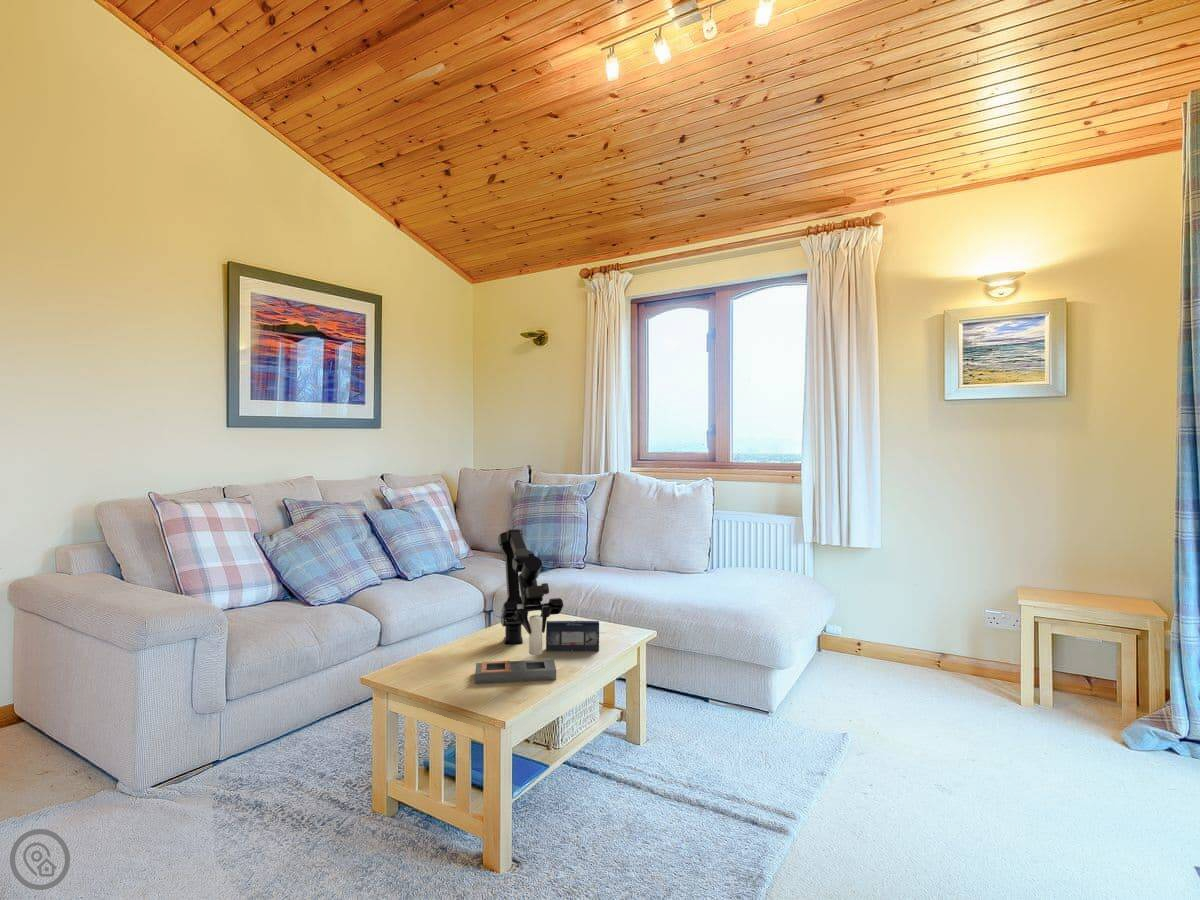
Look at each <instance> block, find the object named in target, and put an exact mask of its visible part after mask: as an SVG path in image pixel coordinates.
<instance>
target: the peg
mask: <svg viewBox="0 0 1200 900" xmlns="http://www.w3.org/2000/svg"><path fill="white" fill-rule="evenodd" d="M528 618H529V619H528V621H529V625H530V630H531V633H530V634H529V633H528V635H529V636H528V637H529V638H528V640H529V641H528V653H529V655H532V656H539V655H542V654H543V632H542V620H543V617H542V616H541V615H538V614H537V615H531V616H528Z"/></svg>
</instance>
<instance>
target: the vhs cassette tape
mask: <svg viewBox="0 0 1200 900" xmlns="http://www.w3.org/2000/svg"><path fill="white" fill-rule="evenodd" d="M545 651H546V652H599V651H600V621H599V620H546V626H545Z"/></svg>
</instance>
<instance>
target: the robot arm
mask: <svg viewBox="0 0 1200 900" xmlns="http://www.w3.org/2000/svg"><path fill="white" fill-rule="evenodd" d="M497 543H498V544H497V546H498V547H499V550H500V553H501V554H502V556H503V557H504V562H505V563H504V564H505V578H506V591H507V592H506V595H507V596H506V600H505V602H504V603H503V605H502V608H501V615H500V624H501V626H502V627H503V628H504V627H505V634H504V635H505V636H504V637H503V643H504V645H514V644H516V645H517V644H523V641H524V640H523V636H522V626H523V627H524V629H525V631H526V632H527V633H528V635H529V634H530V633H531V630H530V625H529V619H528V618H529V616H528V615H529V612H535V611H541V613H540V616H542V617H543V620H542V634H544V633H546V622H547V618H549V617H550V616H551V615H559V614H561V612H562V610H563V607H564V601H563V599H562V598H560V597H554V598H549V600H548V602H547V603H546V602H545V603H542V602H543V600H544V599H543V597H544V595H548V594H549V593H550V587H549V584H548V583H546V582H545V583H541V585H538V580H537V579H538V578H539V576H540V572H541V569H542V566H543V561H542V560H541V559H540V557H539V556H536V555H535V553H534V552H533V551H532V550H530V549H528V547H527V546H526V543H525V539H524V536H523V532H522V529H520V528H512V529H511V528H509V529H508V530H506V531H503V532H502V533H499V535H498V537H497Z"/></svg>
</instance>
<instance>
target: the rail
mask: <svg viewBox="0 0 1200 900" xmlns="http://www.w3.org/2000/svg"><path fill="white" fill-rule="evenodd" d="M556 680H557V667H556V663H555V660H554V659H553V658H552V659H533V660H531V659H530V660H516V661H515V660H513V661H511V660H496V661H481V662H476V663H475V672H474V684H475V685H481V684H482V685H484V684H485V685H486V684H504V683H505V684H506V683H519V682H522V683H523V682H540V681H556Z"/></svg>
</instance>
